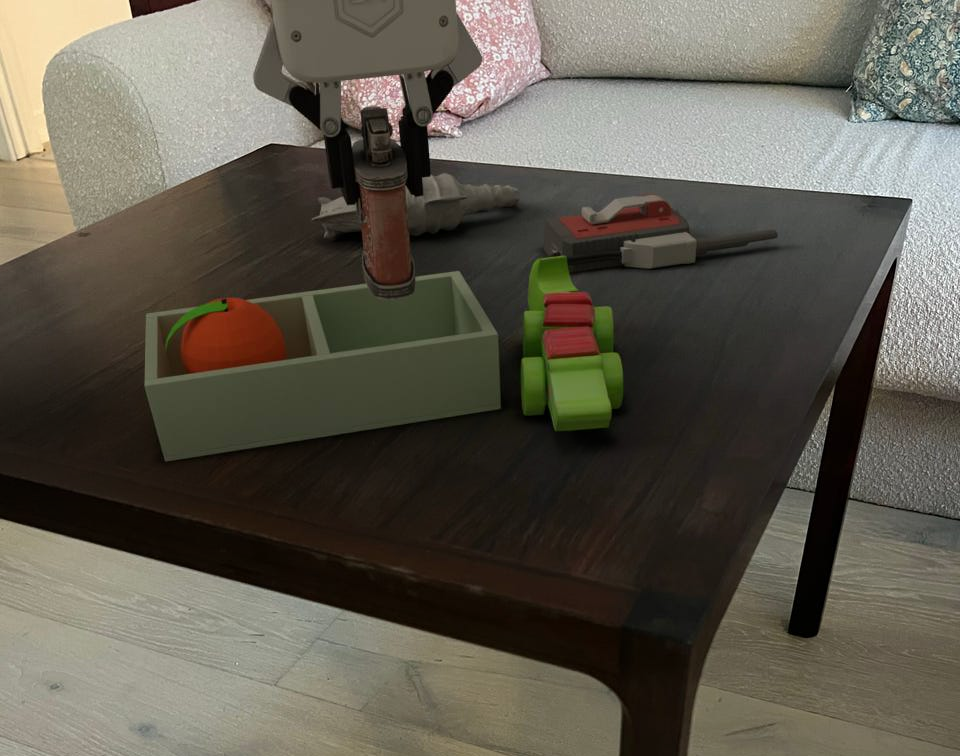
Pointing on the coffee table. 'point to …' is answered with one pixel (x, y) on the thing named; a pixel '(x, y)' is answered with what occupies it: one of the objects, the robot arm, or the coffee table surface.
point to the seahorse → (425, 206)
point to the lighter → (383, 208)
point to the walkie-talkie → (633, 236)
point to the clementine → (228, 336)
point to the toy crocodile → (568, 352)
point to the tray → (330, 369)
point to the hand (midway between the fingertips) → (381, 191)
